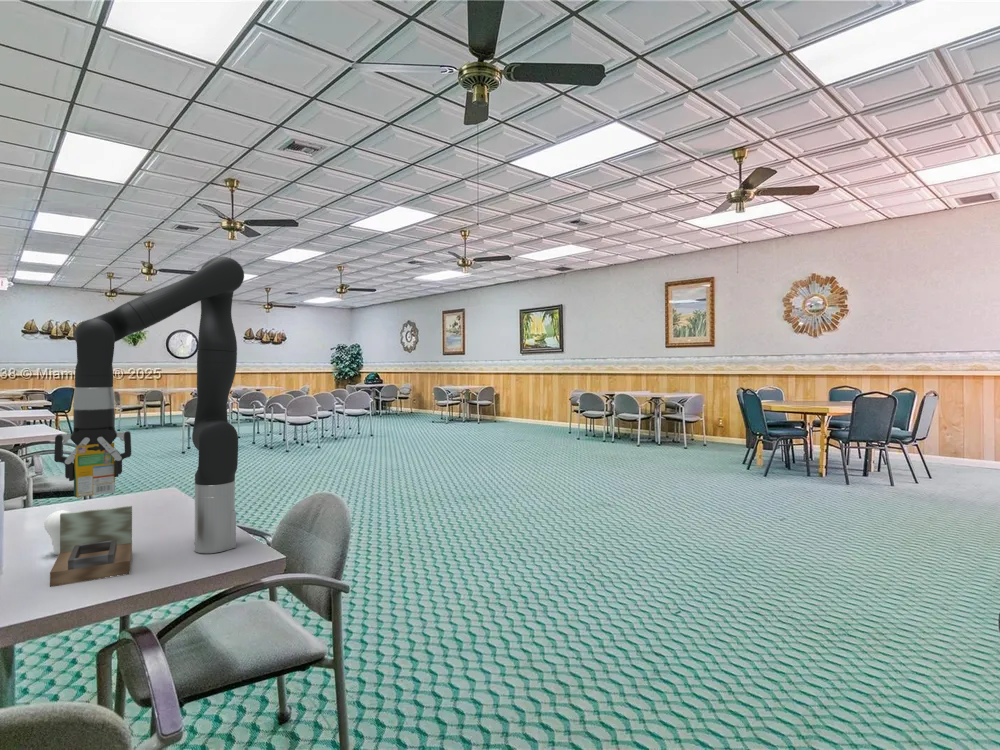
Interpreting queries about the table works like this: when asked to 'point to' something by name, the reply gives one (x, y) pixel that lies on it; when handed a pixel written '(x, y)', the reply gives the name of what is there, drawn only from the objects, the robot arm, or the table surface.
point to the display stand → (93, 545)
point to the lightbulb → (54, 529)
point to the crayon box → (93, 471)
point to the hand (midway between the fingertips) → (94, 478)
